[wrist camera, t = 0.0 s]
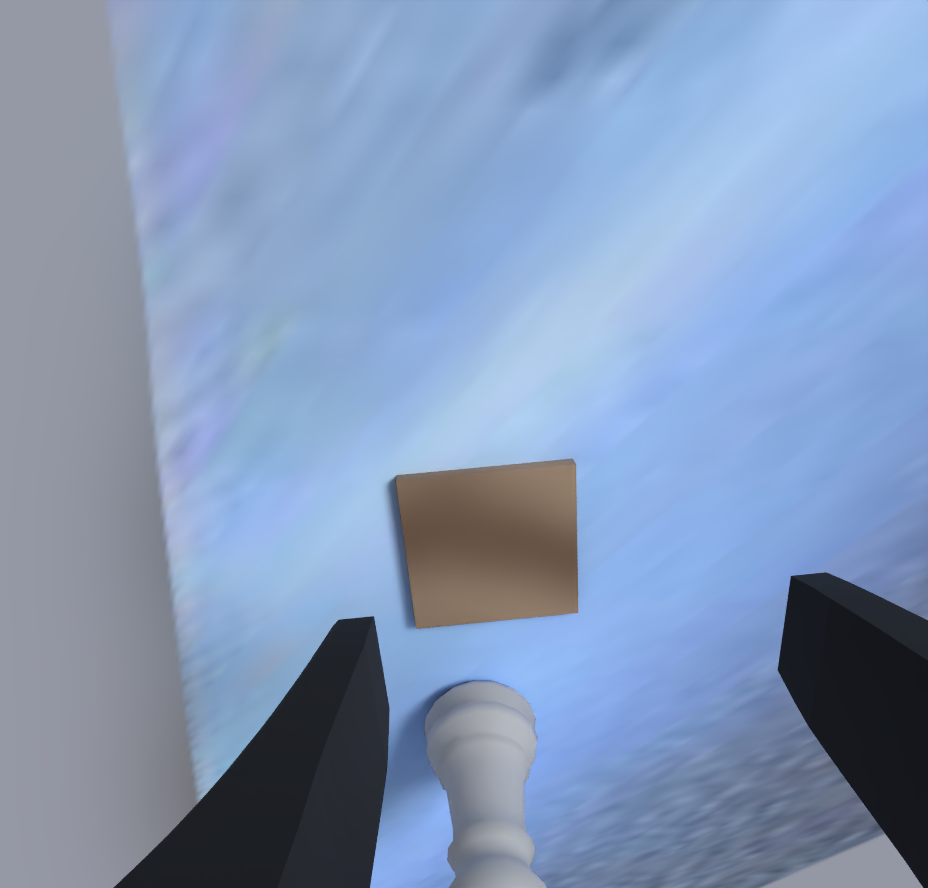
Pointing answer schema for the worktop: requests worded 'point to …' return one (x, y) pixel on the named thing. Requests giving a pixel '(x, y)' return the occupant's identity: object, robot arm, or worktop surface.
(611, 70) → the worktop surface
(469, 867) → the rook chess piece
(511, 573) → the walnut tile
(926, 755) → the robot arm
